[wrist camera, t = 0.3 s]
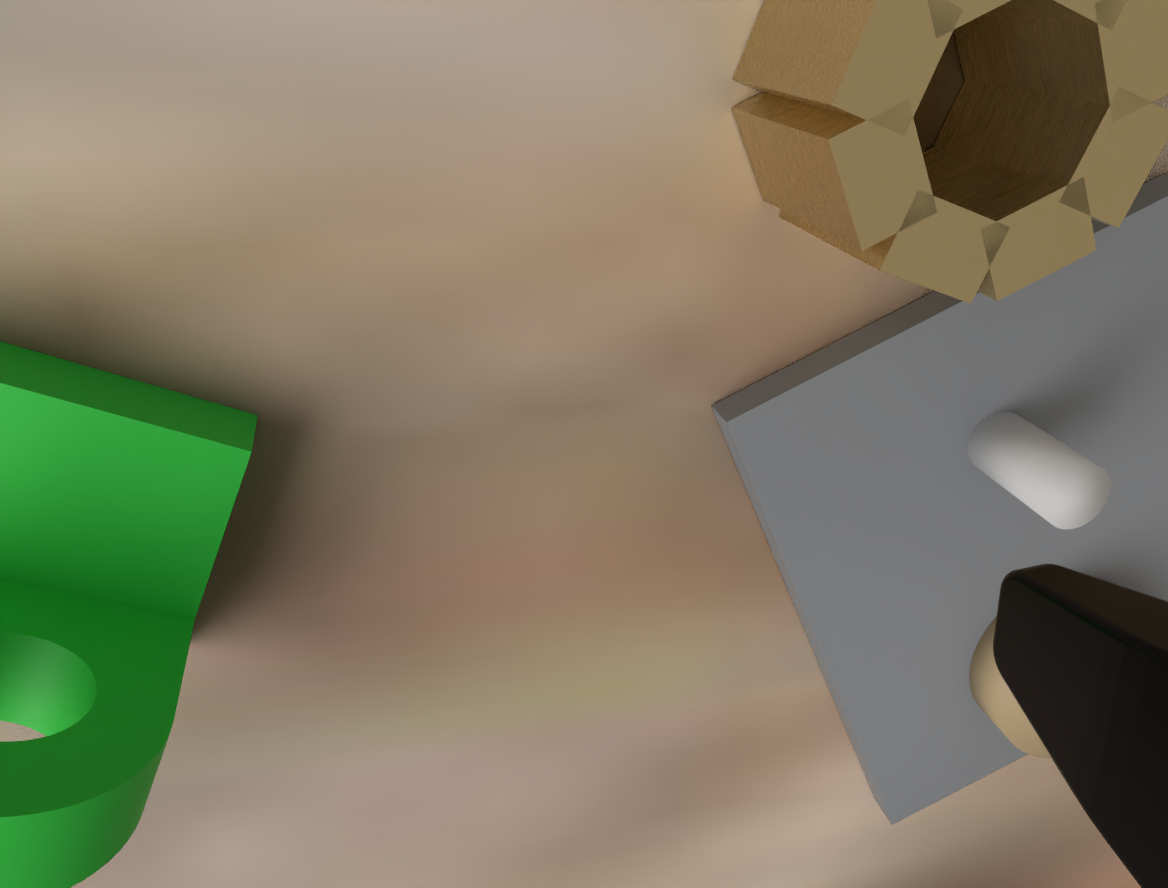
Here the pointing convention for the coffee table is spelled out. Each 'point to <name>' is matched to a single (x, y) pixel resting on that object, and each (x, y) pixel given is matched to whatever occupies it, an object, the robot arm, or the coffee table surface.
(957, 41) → the gear
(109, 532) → the mechanical part
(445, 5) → the coffee table surface
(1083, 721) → the robot arm
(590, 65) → the coffee table surface
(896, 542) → the carrier board
